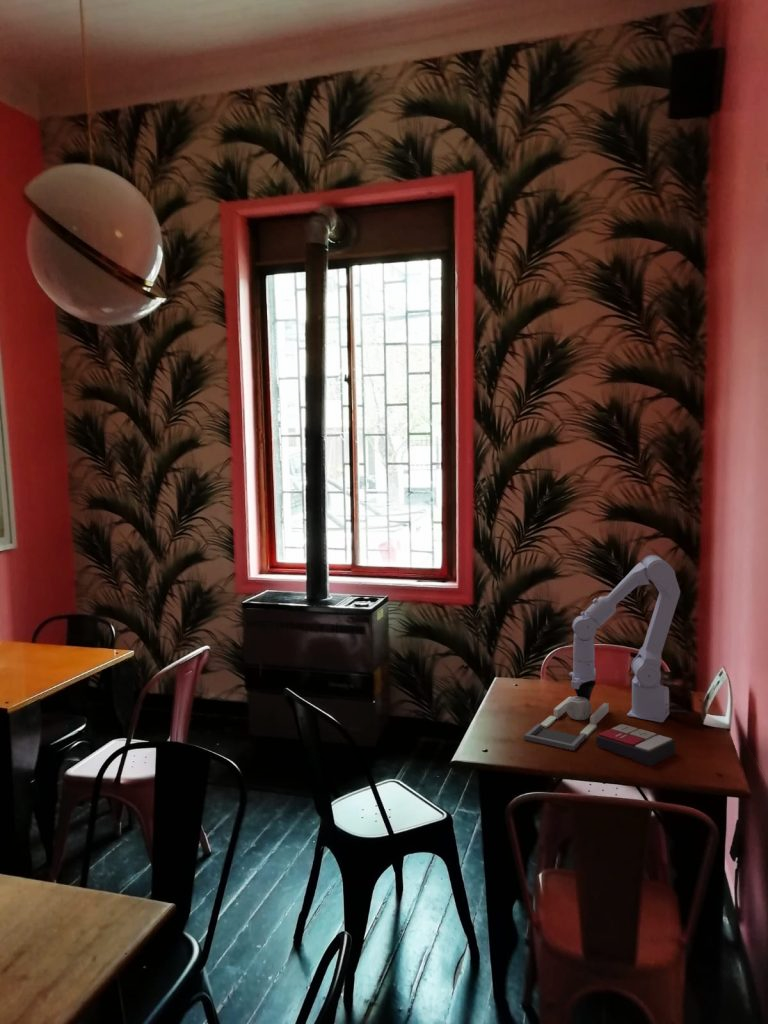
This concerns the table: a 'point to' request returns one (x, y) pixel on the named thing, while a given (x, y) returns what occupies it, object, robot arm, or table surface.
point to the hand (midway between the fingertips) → (583, 706)
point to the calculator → (636, 744)
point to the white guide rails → (593, 718)
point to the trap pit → (554, 738)
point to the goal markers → (586, 730)
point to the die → (578, 708)
